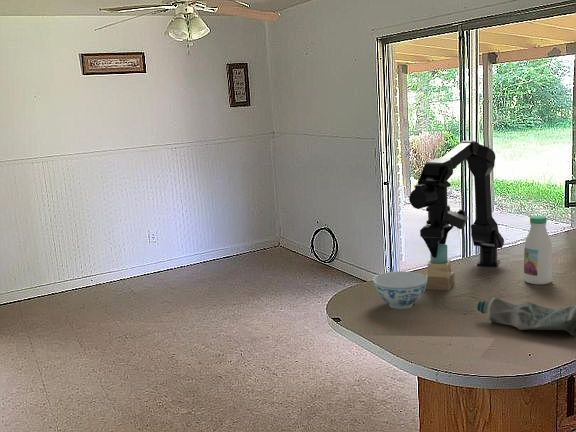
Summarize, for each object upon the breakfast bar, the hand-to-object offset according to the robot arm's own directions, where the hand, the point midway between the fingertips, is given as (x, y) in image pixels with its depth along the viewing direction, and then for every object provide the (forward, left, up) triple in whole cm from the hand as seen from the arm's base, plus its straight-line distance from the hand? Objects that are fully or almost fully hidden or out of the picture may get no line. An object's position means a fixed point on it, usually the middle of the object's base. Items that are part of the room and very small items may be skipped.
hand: (438, 253), depth 185 cm
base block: (0, 0, -11) cm, 11 cm away
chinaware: (+20, -6, -10) cm, 23 cm away
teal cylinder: (0, 0, -2) cm, 3 cm away
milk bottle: (-12, +27, -10) cm, 31 cm away
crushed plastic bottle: (+26, +28, -11) cm, 40 cm away
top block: (0, 0, -7) cm, 7 cm away
